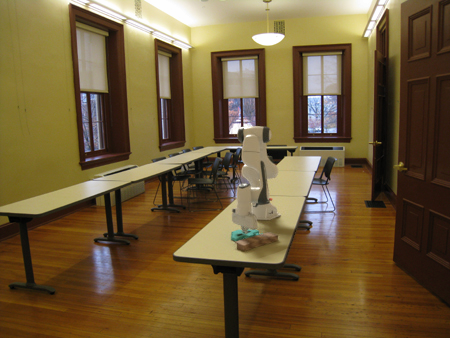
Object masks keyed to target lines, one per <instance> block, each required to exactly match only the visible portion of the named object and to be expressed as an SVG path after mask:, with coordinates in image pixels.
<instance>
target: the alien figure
mask: <svg viewBox="0 0 450 338" xmlns="http://www.w3.org/2000/svg"><path fill="white" fill-rule="evenodd" d="M260 234H264V232H262V233H260V230H259V229H255V230H252V229H248V233H247V234H244V233H242V229H236V230H233V231H231V234H230V240H231V241H232V242H233V241H234V242H236V241H239V240H243V239H246V238H250V237H253V236H257V235H260Z"/></svg>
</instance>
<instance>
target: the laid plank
mask: <svg viewBox="0 0 450 338" xmlns="http://www.w3.org/2000/svg"><path fill="white" fill-rule="evenodd" d="M263 233H264V232H263ZM259 234H260V235H257V236H253V237H250V238H246V239H242V240H239V241H234V244H236V249H237V250H240V251H242V252H246V251H249V250H252V249H255V248H258V247H261V246H266V245H268V244H271V243H274V242H277V241H279V235H278V234H276V233H273V232H270V231H267V232H265V233H264V234H261V233H259Z"/></svg>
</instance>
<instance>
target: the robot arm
mask: <svg viewBox="0 0 450 338" xmlns="http://www.w3.org/2000/svg"><path fill="white" fill-rule="evenodd" d="M272 135H273V134H272V131H271V128H270V127H268V126H261V125H260V126H258V125H256V126H255V125H254V126H241V127H239V128H238V130H237V134H236V136H237V140H238V141H239V142H240V143H241V145H242V148H241V161H242V163H243V164H244V165H242V168H241V175H242V177H243V178H244V179H246V180H247V181H248V183H246V182H244V183H239V184H238V185H237V188H236V202H237V203H236V207H234V208H232V209H231V212H232V213H231V221H232V223H233V224H234V225H235V224H236V225H237V226H240V228H241V229H240V230H242V233H244V234H247V233H248V229H250V230H258V227H259V225H258V221H270V220H273V219H276V218H279V217H281V216H282V215H281V213H279V212H278V208H277V207H276V205H274V204H272V203H271V202H273V198H272V197H270V190H269V185H268V180H271V179H275V178H277V176H278V175H279V168H278V166H277V165H276V164H275V163H273V162H272V161H271V159H270V158H269V156H268V153H267V143H269V142H270V141H271V139H272Z"/></svg>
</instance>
